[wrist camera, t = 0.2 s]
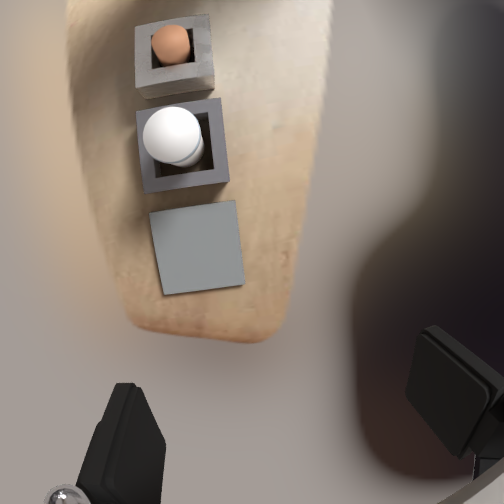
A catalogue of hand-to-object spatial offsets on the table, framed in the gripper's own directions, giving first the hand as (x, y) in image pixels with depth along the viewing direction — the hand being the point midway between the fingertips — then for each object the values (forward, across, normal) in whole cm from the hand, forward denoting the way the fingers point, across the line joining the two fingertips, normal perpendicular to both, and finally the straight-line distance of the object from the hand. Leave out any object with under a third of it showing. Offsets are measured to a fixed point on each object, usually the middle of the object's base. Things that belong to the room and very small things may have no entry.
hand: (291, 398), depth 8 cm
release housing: (+31, +5, -23) cm, 39 cm away
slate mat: (+31, +5, +2) cm, 31 cm away
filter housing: (+31, +5, -11) cm, 33 cm away
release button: (+28, +5, -23) cm, 37 cm away
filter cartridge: (+31, +5, -11) cm, 33 cm away
